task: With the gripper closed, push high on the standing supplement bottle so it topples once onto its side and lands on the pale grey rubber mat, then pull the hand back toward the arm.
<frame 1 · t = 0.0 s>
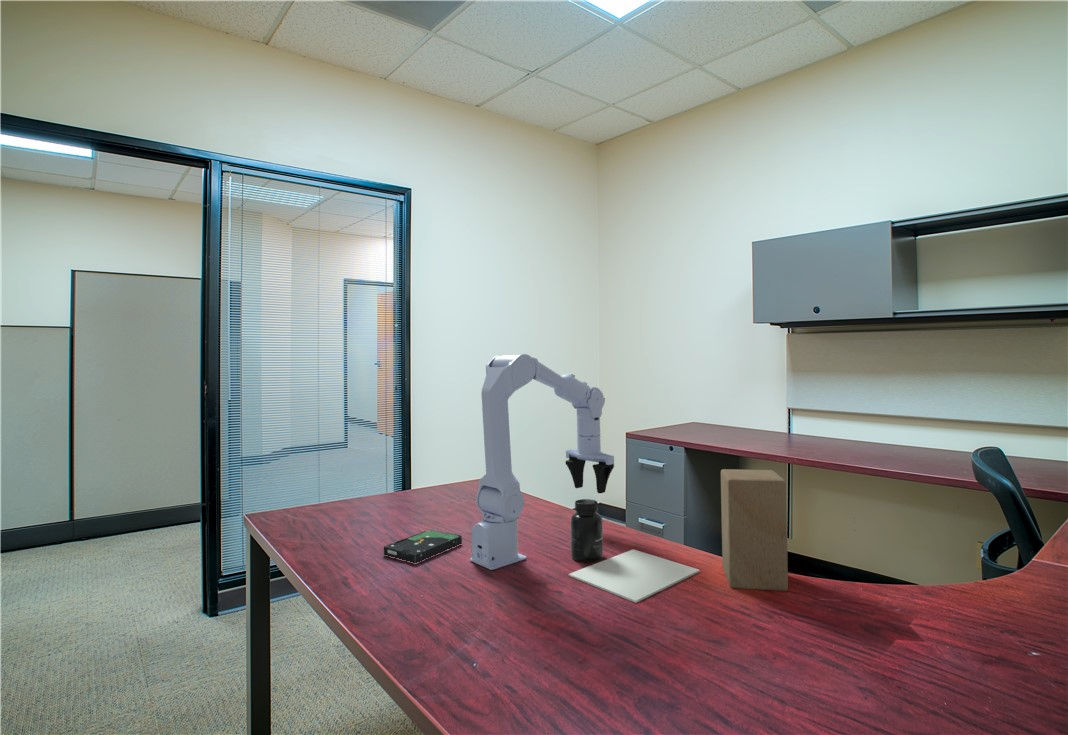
hand: (589, 490, 134), 10 cm above the table, fingers open, 7 cm apart
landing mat: (634, 573, 106), on the table
supplement bottle: (587, 558, 116), on the table
wooden block: (753, 580, 103), on the table
disk drive: (423, 553, 123), on the table
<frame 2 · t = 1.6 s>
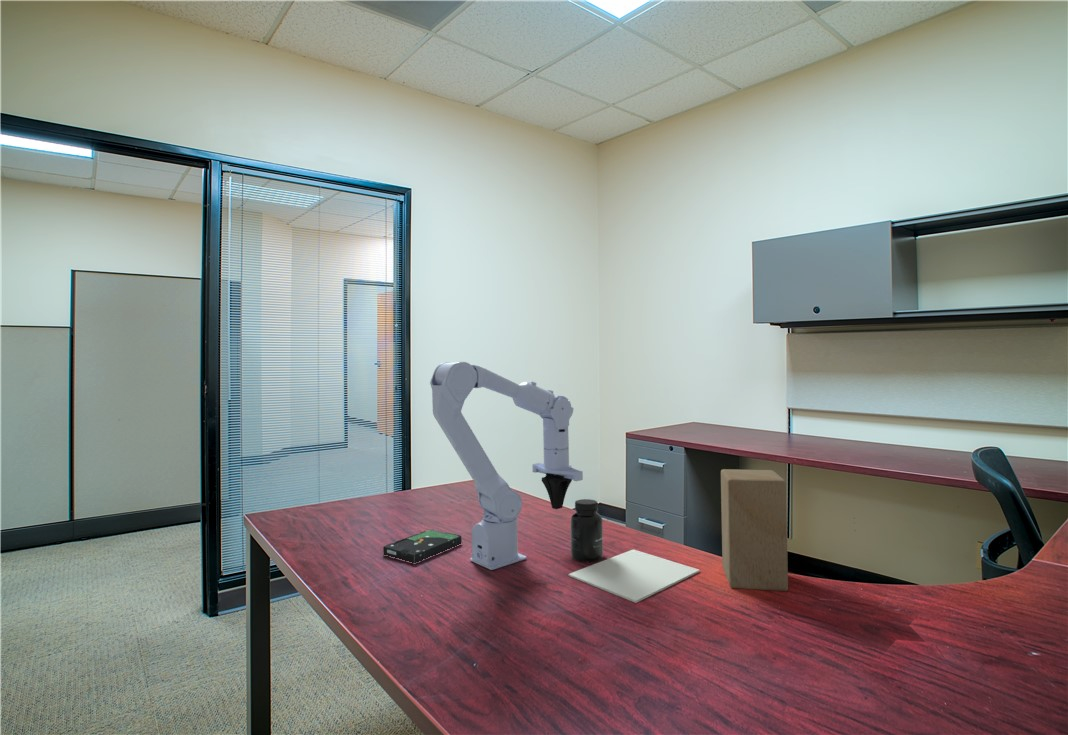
hand: (557, 507, 123), 9 cm above the table, fingers closed
nothing on the table moved.
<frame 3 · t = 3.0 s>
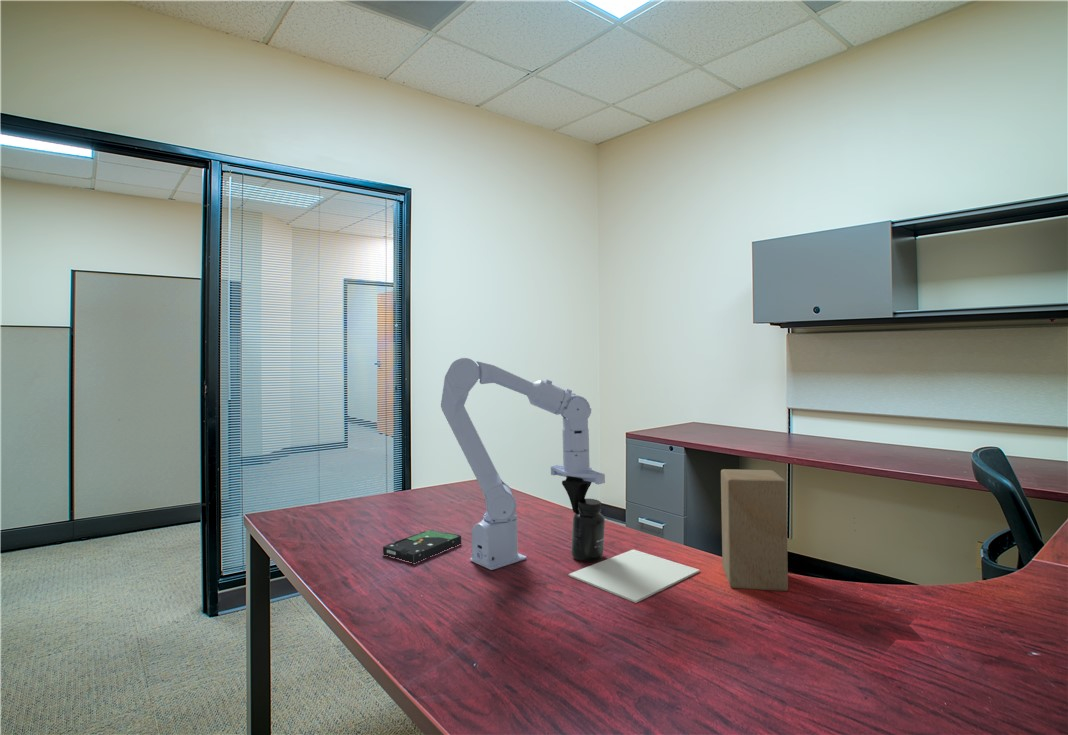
hand: (577, 512, 118), 9 cm above the table, fingers closed, pressing on supplement bottle
supplement bottle: (587, 557, 116), on the table, touching gripper
everything else where it was.
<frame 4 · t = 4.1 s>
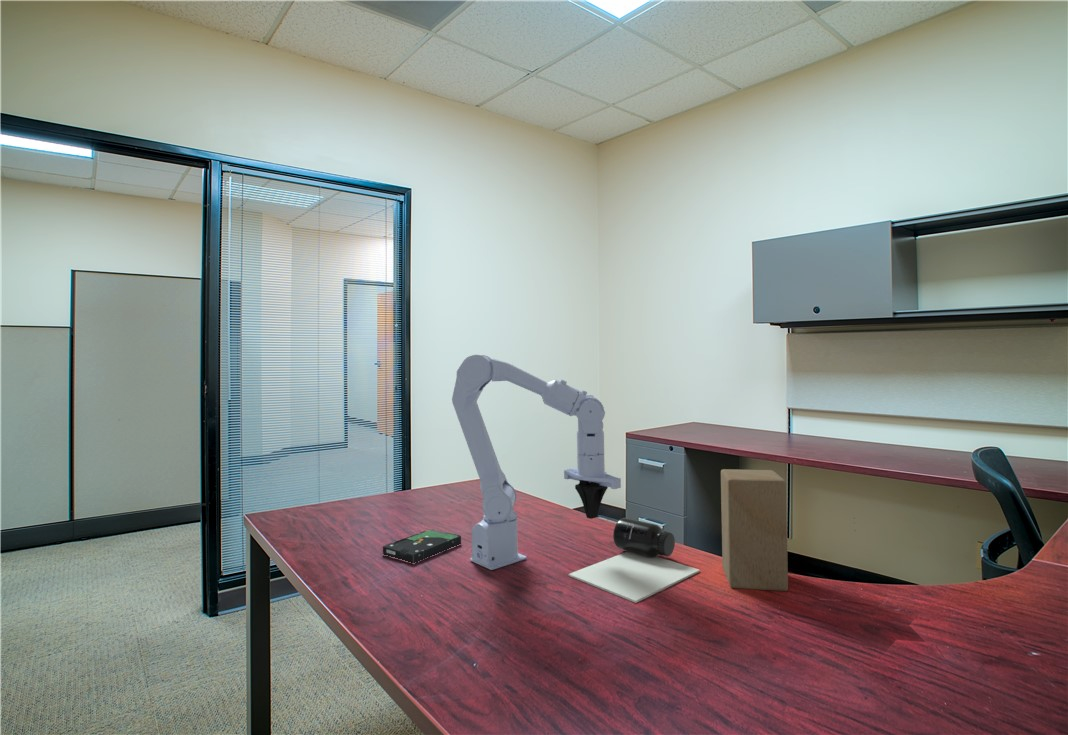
hand: (592, 517, 115), 9 cm above the table, fingers closed
supplement bottle: (620, 532, 120), point 4 cm above the table, touching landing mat
everything else where it was.
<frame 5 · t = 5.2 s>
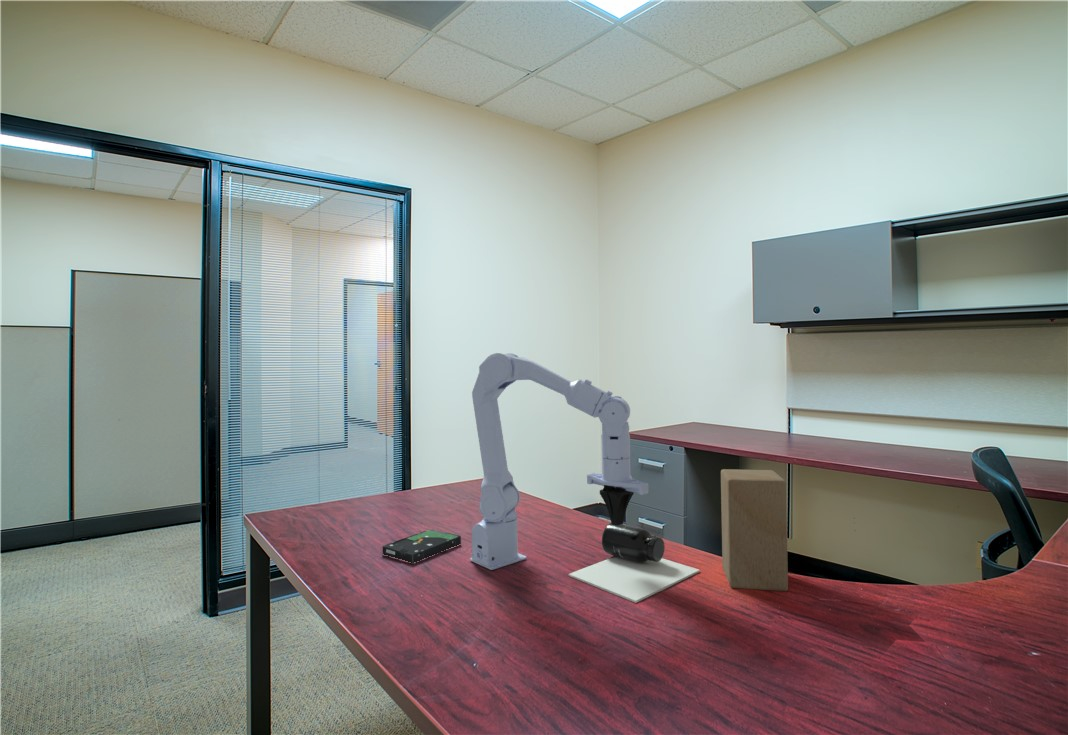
hand: (617, 524, 109), 9 cm above the table, fingers closed
supplement bottle: (609, 537, 117), point 4 cm above the table, touching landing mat
everything else where it was.
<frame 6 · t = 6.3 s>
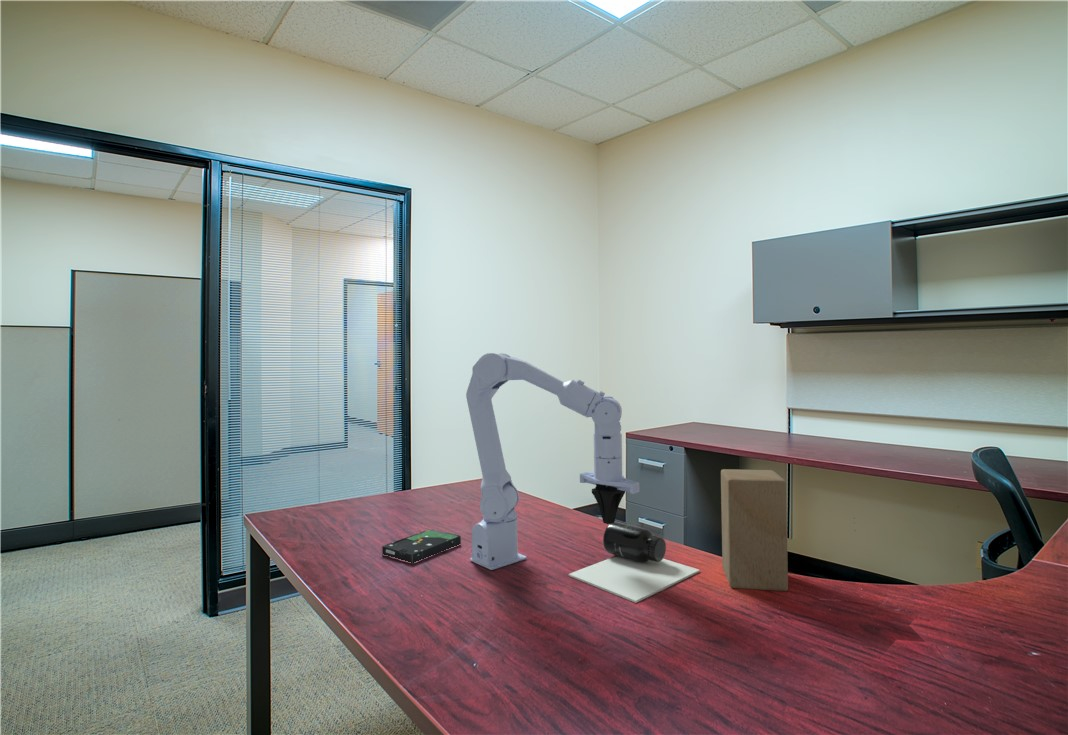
hand: (608, 522, 111), 9 cm above the table, fingers closed
nothing on the table moved.
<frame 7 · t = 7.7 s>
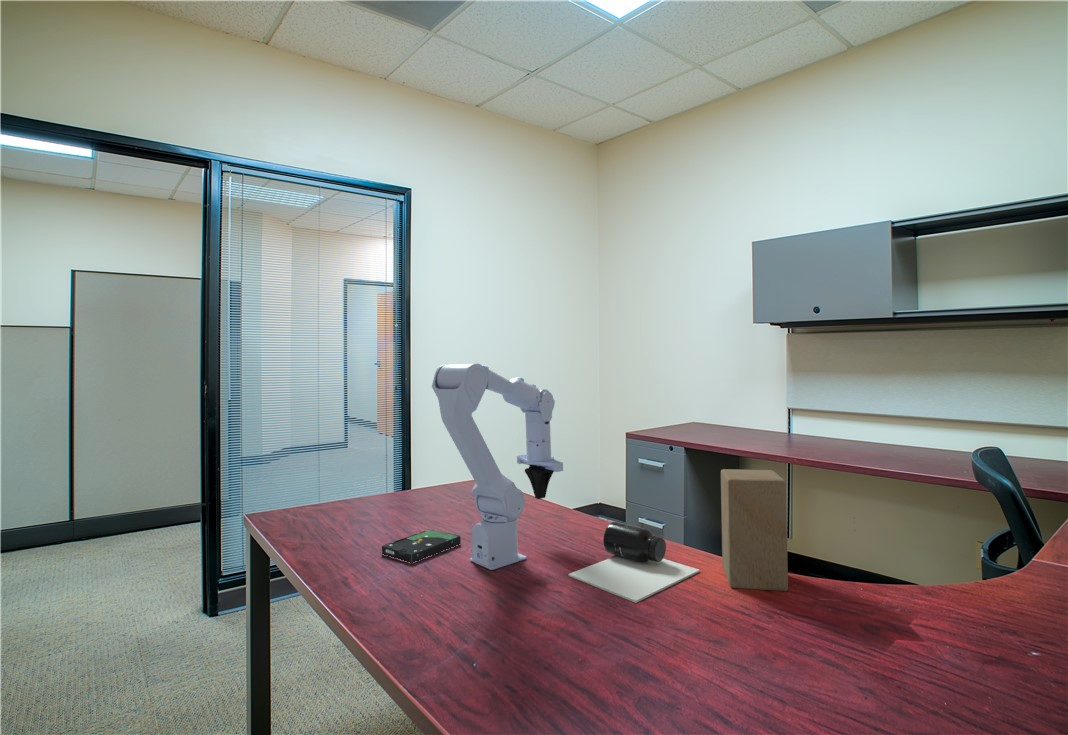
hand: (540, 497, 127), 10 cm above the table, fingers closed
nothing on the table moved.
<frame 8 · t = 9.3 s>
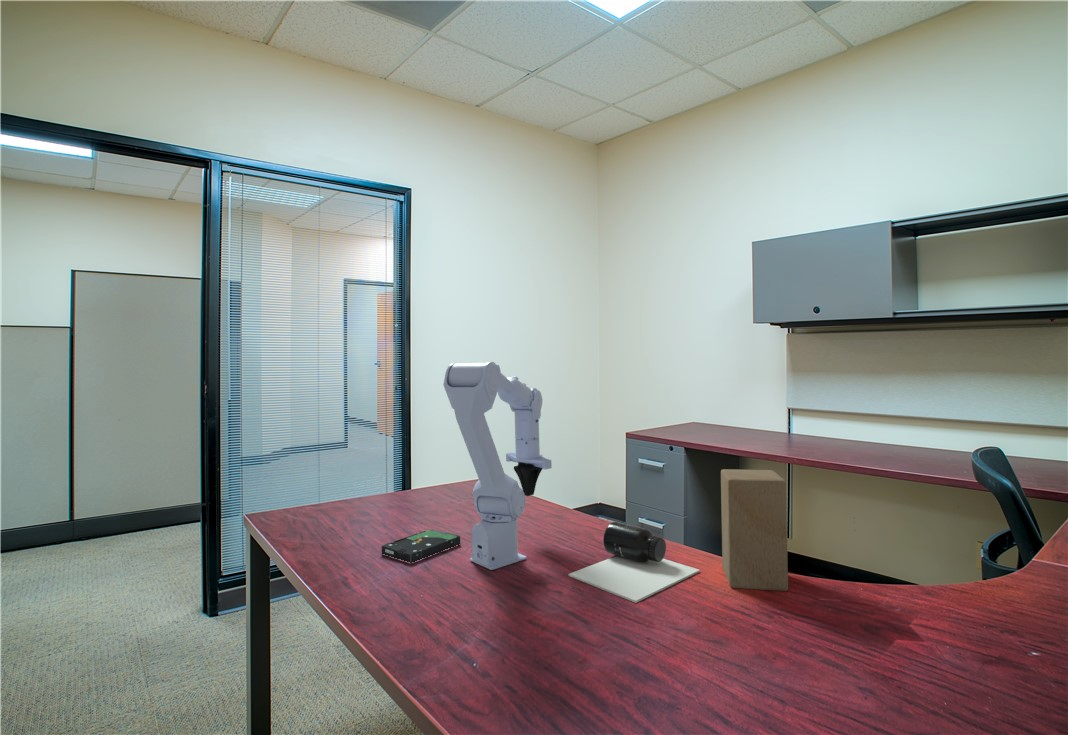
hand: (528, 494, 129), 10 cm above the table, fingers closed
nothing on the table moved.
at the end: supplement bottle tilted 90°; supplement bottle touching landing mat; supplement bottle inside the target area (8.3 cm from its centre), point 3.8 cm above the table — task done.
